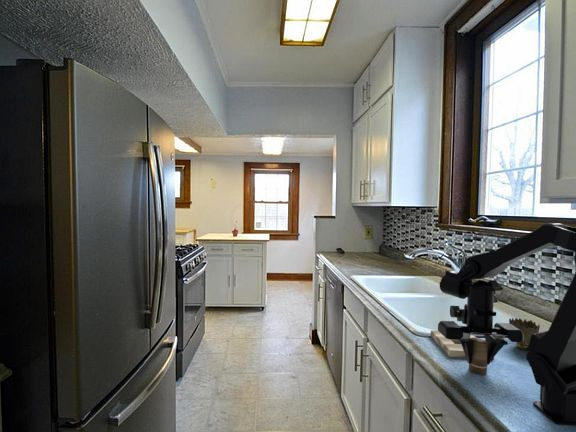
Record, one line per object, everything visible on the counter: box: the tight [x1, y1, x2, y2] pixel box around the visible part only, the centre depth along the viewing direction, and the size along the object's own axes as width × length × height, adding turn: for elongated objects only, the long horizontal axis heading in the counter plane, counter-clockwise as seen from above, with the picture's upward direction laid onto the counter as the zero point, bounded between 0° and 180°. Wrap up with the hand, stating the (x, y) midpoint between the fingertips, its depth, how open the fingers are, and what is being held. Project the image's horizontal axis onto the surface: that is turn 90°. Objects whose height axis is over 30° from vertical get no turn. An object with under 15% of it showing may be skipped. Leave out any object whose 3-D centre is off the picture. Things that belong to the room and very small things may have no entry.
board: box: [430, 329, 495, 360], centre depth 94 cm, size 14×12×2 cm
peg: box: [468, 337, 488, 376], centre depth 80 cm, size 4×4×8 cm
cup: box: [508, 317, 541, 351], centre depth 94 cm, size 8×7×8 cm
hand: (477, 363), depth 80 cm, fingers closed on peg, 4 cm apart
